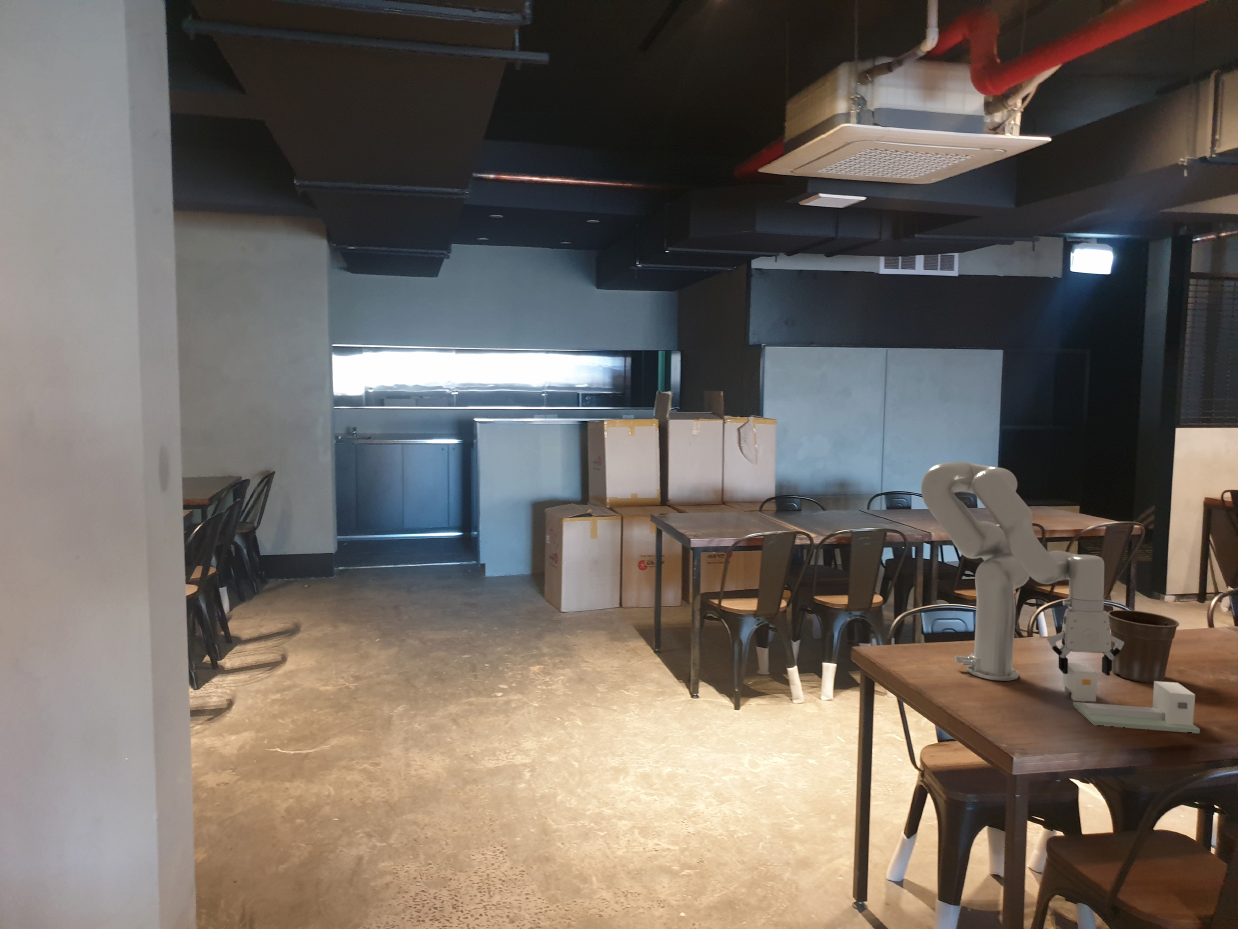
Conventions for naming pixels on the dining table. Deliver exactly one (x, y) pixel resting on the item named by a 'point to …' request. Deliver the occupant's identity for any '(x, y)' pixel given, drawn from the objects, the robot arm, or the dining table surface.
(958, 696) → the dining table surface
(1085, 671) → the block
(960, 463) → the robot arm
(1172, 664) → the dining table surface
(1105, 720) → the din panel
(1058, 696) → the dining table surface
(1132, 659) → the plant pot
